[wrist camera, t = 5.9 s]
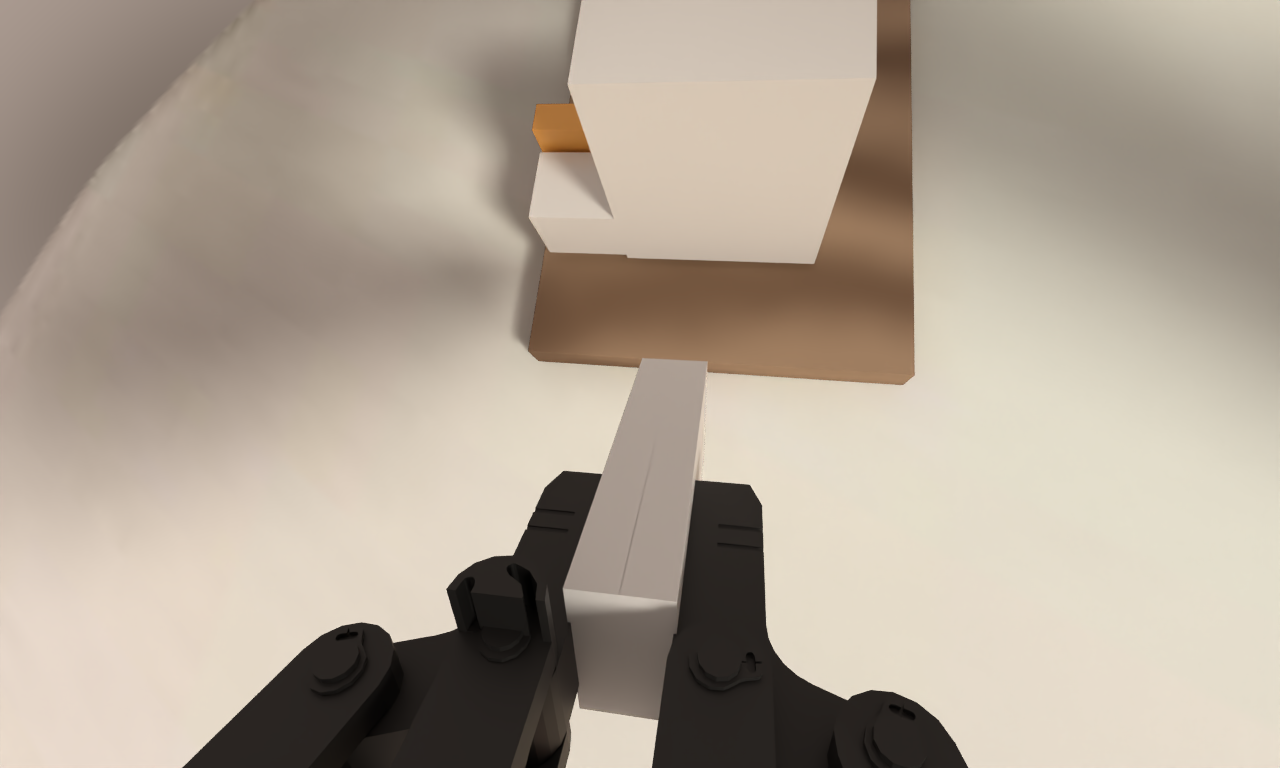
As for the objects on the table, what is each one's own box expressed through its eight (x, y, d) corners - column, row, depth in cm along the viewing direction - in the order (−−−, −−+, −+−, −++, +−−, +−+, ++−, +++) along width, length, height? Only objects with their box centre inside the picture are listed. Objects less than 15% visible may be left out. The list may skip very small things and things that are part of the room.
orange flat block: (623, 190, 25) (606, 129, 22) (560, 189, 26) (532, 129, 22) (626, 167, 26) (609, 103, 22) (563, 167, 26) (536, 104, 22)
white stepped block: (814, 263, 23) (876, 78, 14) (552, 255, 25) (448, 86, 16) (822, 24, 27) (879, -264, 17) (588, 32, 28) (519, -222, 19)
